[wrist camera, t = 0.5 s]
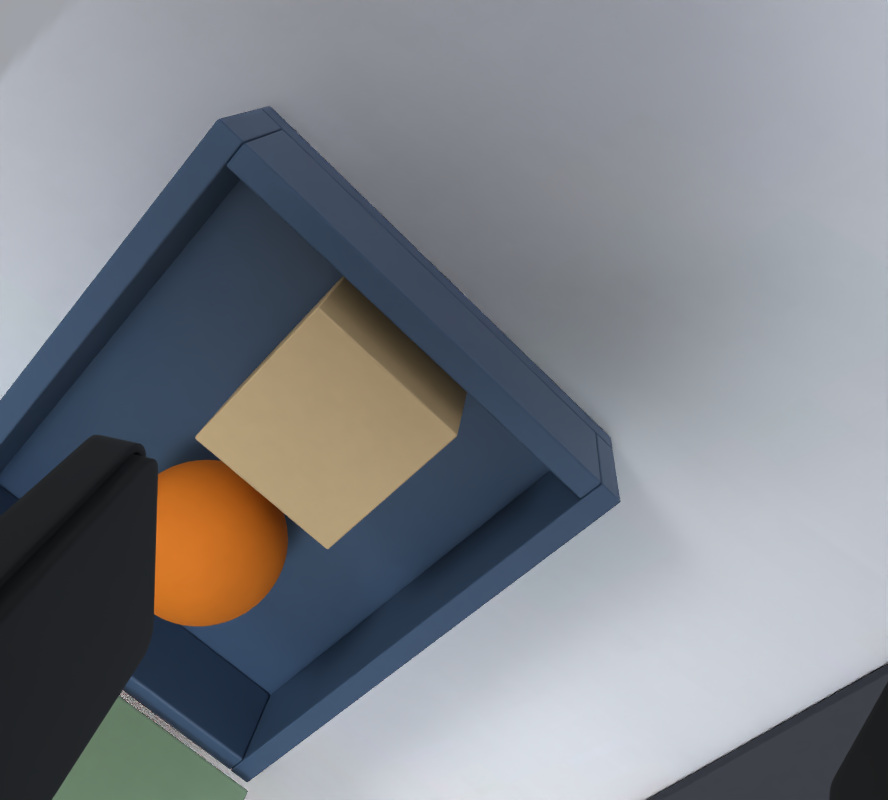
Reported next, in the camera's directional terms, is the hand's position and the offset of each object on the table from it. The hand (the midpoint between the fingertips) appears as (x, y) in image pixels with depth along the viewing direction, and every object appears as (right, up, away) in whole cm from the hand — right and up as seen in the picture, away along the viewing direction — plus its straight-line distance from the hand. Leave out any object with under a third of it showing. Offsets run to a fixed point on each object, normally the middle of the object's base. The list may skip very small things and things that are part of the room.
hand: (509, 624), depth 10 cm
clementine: (-8, -2, +16) cm, 18 cm away
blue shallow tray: (-7, +1, +18) cm, 19 cm away
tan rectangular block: (-4, +3, +16) cm, 16 cm away
